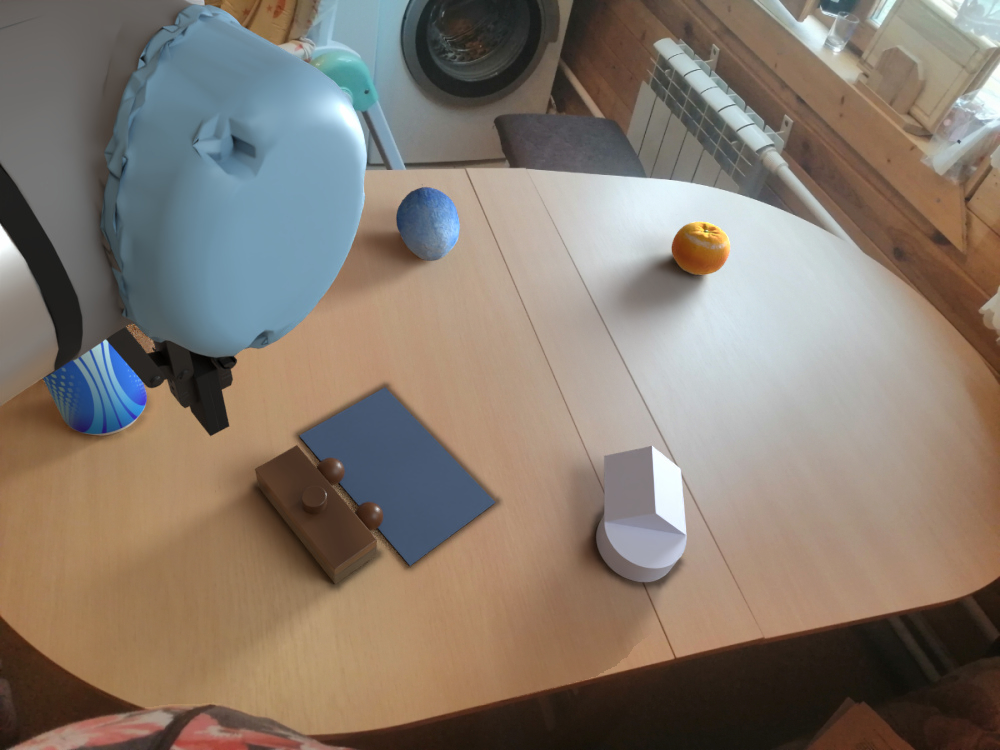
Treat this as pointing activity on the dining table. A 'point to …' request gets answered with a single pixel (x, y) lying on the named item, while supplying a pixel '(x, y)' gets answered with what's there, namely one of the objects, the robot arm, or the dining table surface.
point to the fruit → (700, 248)
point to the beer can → (97, 392)
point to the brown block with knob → (316, 513)
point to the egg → (428, 223)
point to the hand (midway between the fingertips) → (210, 418)
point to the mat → (399, 473)
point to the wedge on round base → (642, 514)
